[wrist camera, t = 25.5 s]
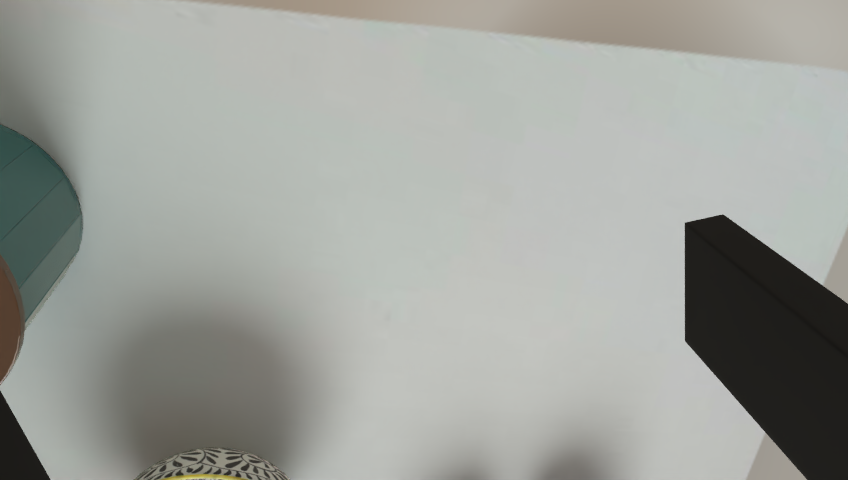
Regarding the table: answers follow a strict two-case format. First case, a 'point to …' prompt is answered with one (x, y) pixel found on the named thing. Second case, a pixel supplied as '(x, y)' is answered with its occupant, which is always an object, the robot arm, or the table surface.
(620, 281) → the table surface
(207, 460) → the bowl
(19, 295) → the jar lid
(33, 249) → the storage jar
